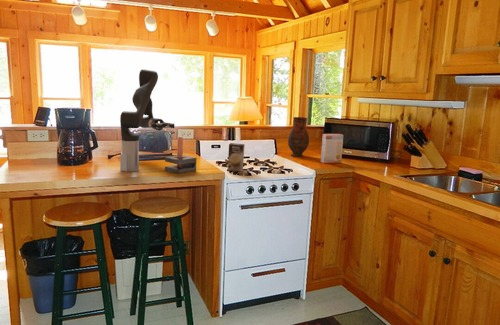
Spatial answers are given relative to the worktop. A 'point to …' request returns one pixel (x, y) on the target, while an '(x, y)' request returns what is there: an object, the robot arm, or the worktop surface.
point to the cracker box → (331, 148)
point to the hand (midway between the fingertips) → (167, 126)
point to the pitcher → (298, 137)
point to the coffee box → (235, 157)
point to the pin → (179, 149)
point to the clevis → (186, 162)
